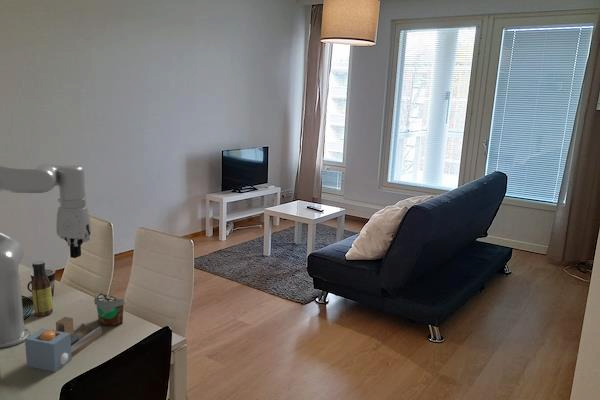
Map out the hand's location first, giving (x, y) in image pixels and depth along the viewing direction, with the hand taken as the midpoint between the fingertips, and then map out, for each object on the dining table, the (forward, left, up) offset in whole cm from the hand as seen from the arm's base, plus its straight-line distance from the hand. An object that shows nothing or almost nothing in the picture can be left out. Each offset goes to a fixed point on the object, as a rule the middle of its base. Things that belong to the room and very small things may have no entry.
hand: (75, 256), depth 162 cm
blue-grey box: (+5, -20, -27) cm, 34 cm away
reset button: (+5, -20, -22) cm, 30 cm away
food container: (+5, +8, -27) cm, 29 cm away
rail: (+5, -8, -27) cm, 29 cm away
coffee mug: (-32, +18, -27) cm, 46 cm away
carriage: (+5, -13, -25) cm, 29 cm away
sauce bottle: (-21, +7, -27) cm, 35 cm away
